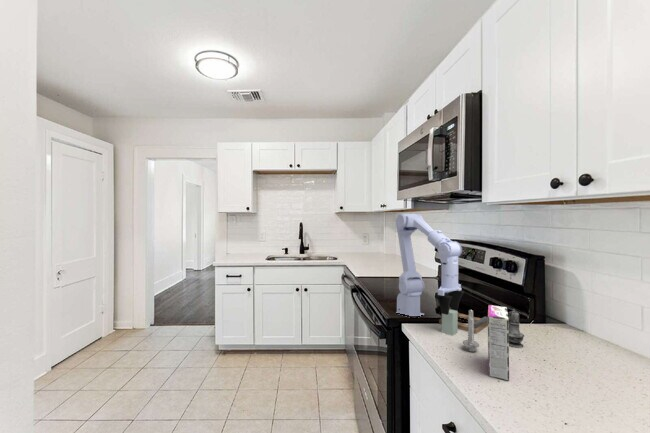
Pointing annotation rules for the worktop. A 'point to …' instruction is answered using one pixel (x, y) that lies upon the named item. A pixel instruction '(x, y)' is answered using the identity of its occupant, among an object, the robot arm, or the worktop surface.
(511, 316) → the grey chess piece
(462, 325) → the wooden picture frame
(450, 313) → the peg
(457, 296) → the robot arm
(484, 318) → the metal rail
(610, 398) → the worktop surface
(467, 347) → the screw
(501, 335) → the candy bar box
